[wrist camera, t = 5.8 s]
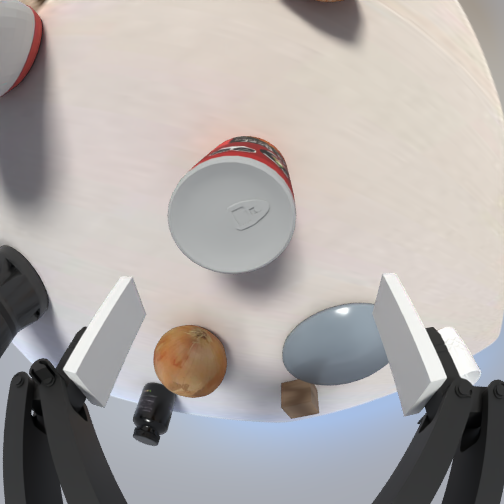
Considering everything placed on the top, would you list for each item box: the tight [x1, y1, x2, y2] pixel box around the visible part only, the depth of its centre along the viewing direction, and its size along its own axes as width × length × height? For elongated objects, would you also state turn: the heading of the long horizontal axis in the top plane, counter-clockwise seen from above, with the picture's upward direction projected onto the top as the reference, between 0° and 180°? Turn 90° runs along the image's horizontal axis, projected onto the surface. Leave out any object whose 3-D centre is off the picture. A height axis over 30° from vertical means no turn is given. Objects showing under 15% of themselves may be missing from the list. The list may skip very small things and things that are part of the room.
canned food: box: [168, 136, 296, 274], centre depth 21 cm, size 8×8×11 cm
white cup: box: [438, 327, 481, 385], centre depth 32 cm, size 8×8×10 cm
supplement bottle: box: [133, 383, 176, 446], centre depth 43 cm, size 7×7×12 cm
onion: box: [154, 325, 227, 398], centre depth 33 cm, size 10×10×10 cm
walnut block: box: [281, 379, 319, 419], centre depth 41 cm, size 5×5×5 cm
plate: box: [283, 303, 389, 385], centre depth 37 cm, size 18×18×1 cm
